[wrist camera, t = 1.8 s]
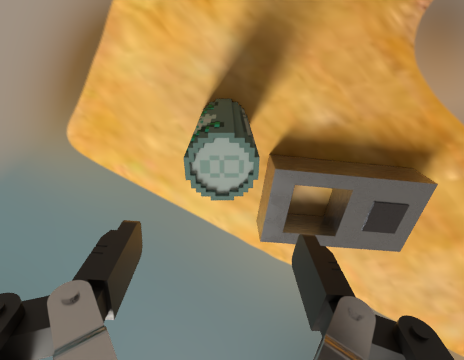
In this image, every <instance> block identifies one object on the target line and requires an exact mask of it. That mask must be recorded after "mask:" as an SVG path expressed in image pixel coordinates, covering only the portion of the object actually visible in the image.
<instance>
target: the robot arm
mask: <svg viewBox="0 0 464 360" xmlns="http://www.w3.org/2000/svg"><path fill="white" fill-rule="evenodd" d="M141 253H142V233H141V223H140V222H139V221H127V220H124V221H123V222H122V223H121V225H120V227H119V228H118V230H110V231H109V232H107V233H106V234H105V235H103V236H102V237H101V238H100V240H99V241H98V243H97V244H96V247H94V249H93V251H92V252H91V254H90V255H89V256H88V258H87V259H86V261H85V262H84V264H83V265H82V267H81V268H80V269H79V271H78V272H77V274H76V275H75V277H74V279H73V280H72V281H70V282H67V283H65V284H63V285H61V286H59V287H58V288H56V289H55V290H54V291H53V292H52V293H51V295H49V296H45V297H41V298H36V299H31V300H26V301H21V299H20V297H19V296H18V295H17V294H14V293H3V294H0V360H39V359H42V358H46V357H50V356H53V360H117V357H116V354H115V351H114V348H113V345H112V343H111V339H110V336H109V333H108V331H107V328H106V327H105V326H104V321H105V320H114V319H115V317H116V315H117V312H118V309H119V307H120V305H121V302H122V300H123V298H124V295H125V293H126V290H127V288H128V286H129V284H130V281H131V279H132V276H133V274H134V271H135V269H136V267H137V264H138V262H139V260H140V257H141ZM292 268H293V272H294V275H295V278H296V282H297V285H298V288H299V291H300V295H301V298H302V301H303V305H304V308H305V311H306V315H307V318H308V321H309V325H310V328H311V330H312V331H320V332H321V334H322V339H321V341H320V344H319V346H318V349H317V351H316V354H315V356H314V359H313V360H454V358H453V357H452V356H451V354H450V353H449V351H448V350H447V348H446V347H445V345H444V344H443V342H442V341H441V340H440V338H439V337H438V335H437V334H436V333H435V331H434V330H433V329H432V328H431V327H430V326H429V325H427V324H426V323H425V322H423V321H421V320H420V319H418V318H415V317H412V316H402V317H400V318H399V320H398V321H397V322H395V321H392V320H389V319H386V318H383V317H380V316H377V315H375V314H374V312H373V311H372V309H371V308H370V307H369V306H368V305H367V304H366V303H365V302H363V301H362V300H360V299H358V298H356V297H355V295H354V293H353V291H352V289H351V287H350V286H349V284H348V282H347V280H346V278H345V276H344V274H343V272H342V271H341V268H340V266H339V265H338V264H337V261H336V259H335V257H334V255H333V253H332V252H331V251H330V250H329V249H328V248H327V247H326V246H320V244H319V242H318V239H317V237H316V236H315V235H307V234H300V235H299V236H298V239H297V242H296V246H295V249H294V252H293V256H292Z"/></svg>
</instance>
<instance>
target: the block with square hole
mask: <svg viewBox="0 0 464 360" xmlns="http://www.w3.org/2000/svg"><path fill="white" fill-rule="evenodd" d="M295 185H302V186H314V187H325V188H333V191H332V194H331V197H330V200H329V203H328V205H327V208H326V211H325V214H324V216H311V215H299V214H287V213H288V209H289V206H290V202H291V198H292V194H293V190H294V186H295ZM437 185H438V184H437V183H435V182H434V181H432V180H430V179H429V178H427V177H426V176H424V175H423V174H421V173H419V172H418V171H416V170H415V169H413V168H404V167H394V166H383V165H373V164H363V163H353V162H342V161H332V160H322V159H312V158H301V157H291V156H281V155H270V154H269V159H268V165H267V170H266V175H265V180H264V185H263V191H262V196H261V201H260V206H259V211H258V217H257V226H258V232H259V238H260V241H261V242H274V243H288V244H296V242H297V239H298V236H299V235H300V234H307V235H315V236H316V237H317V239H318V242H319V244H320V246H329V247H342V248H356V249H369V250H383V251H397V252H400V251H401V249H402V247H403V245H404V244H405V242H406V240H407V238H408V236H409V235H410V233H411V231H412V229H413V228H414V226H415V224H416V222H417V220H418V219H419V217H420V215H421V213H422V212H423V210H424V208H425V206H426V204H427V203H428V201H429V199H430V197H431V195H432V194H433V192H434V190H435V188H436V187H437Z"/></svg>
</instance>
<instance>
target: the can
mask: <svg viewBox="0 0 464 360" xmlns="http://www.w3.org/2000/svg"><path fill="white" fill-rule="evenodd" d="M184 166H185V176H186V180H191V188H196V192H201V196H211V200H234V196H243V192H248V188H253V180H258V173H259V154H258V151H257V148H256V144H255V141H254V138H253V134H252V131H251V128H250V124H249V121H248V118H247V115H245V111H244V108H241V105H238V102H232V99H216V101H215V102H210V103H209V105H207V106H206V108H204V109H203V112H202V114H201V116H200V119H199V121H198V124H197V126H196V129H195V131H194V133H193V136H192V138H191V141H190V143H189V146H188V148H187V151H186V153H185V156H184Z"/></svg>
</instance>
